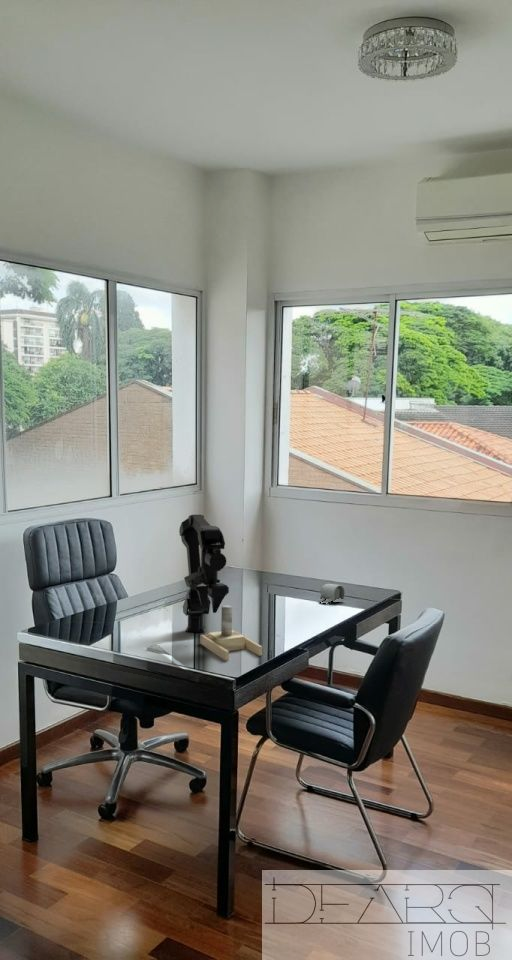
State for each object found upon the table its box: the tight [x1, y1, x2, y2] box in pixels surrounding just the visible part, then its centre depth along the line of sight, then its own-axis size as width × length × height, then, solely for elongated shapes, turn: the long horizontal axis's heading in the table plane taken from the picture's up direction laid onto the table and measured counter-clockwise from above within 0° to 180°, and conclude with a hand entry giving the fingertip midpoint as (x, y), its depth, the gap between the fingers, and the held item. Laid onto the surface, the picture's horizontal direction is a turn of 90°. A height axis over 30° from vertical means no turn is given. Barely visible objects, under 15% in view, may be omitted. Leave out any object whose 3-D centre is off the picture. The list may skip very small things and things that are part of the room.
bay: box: [199, 630, 263, 661], centre depth 258 cm, size 20×14×4 cm
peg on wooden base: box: [208, 605, 246, 652], centre depth 260 cm, size 9×9×14 cm
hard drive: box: [146, 641, 172, 657], centre depth 259 cm, size 2×8×12 cm
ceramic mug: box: [318, 583, 346, 603], centre depth 328 cm, size 11×8×8 cm
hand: (208, 609), depth 265 cm, fingers open, 9 cm apart
